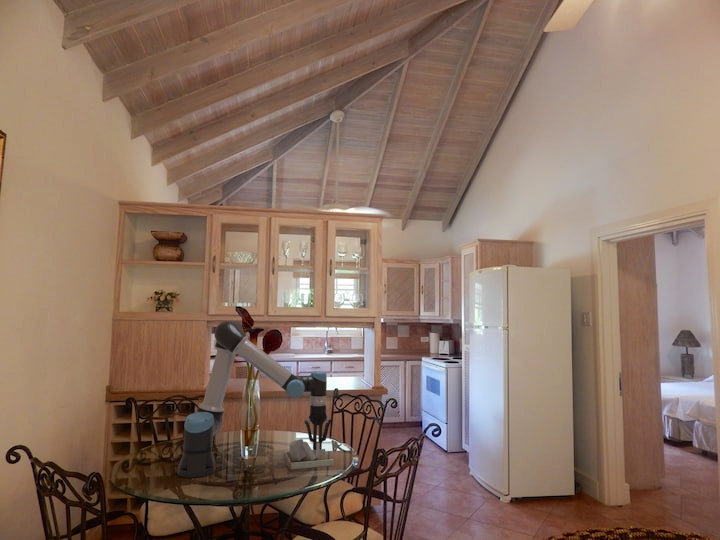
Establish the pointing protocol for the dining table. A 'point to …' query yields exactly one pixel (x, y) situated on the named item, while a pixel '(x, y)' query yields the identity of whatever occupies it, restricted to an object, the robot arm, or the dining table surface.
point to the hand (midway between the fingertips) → (317, 456)
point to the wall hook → (300, 450)
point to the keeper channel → (308, 463)
